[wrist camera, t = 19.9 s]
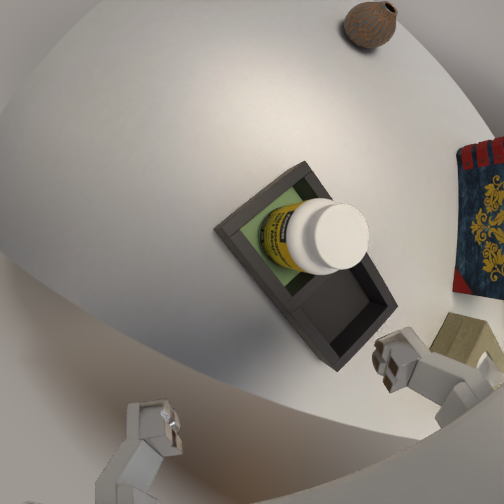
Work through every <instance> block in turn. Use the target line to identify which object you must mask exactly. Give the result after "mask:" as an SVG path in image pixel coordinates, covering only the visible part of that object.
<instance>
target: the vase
mask: <svg viewBox="0 0 504 504" xmlns="http://www.w3.org/2000/svg"><path fill="white" fill-rule="evenodd" d="M396 15H397V10H396V8H395V7H394V6H393V5H392V4H391V3H389V2H387V1H384V2H364V3H361V4H358V5H356V6H355V7H353V8H352V9H351V10H350V11H349V12H348V14H347V15H346V18H345V21H344V29H345V32H346V34H347V36H348V38H349V39H350V40H351V41H352V42H353V43H355V44H356V45H358V46H361V47H364V48H376V47H379V46H382V45H383V44H385V43H386V42H388V41H389V40H390V39H391V37H392V36H393V34H394V32H395V29H396Z"/></svg>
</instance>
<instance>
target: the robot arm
mask: <svg viewBox="0 0 504 504" xmlns="http://www.w3.org/2000/svg"><path fill="white" fill-rule="evenodd" d="M374 346H375V348H376V349H375V351H374V352H373V354H372V362H373V366H374V368H375V370H376V372H377V373H378V374H380V375H382V376H383V383H384V385H385V386H386V388H387V390H388V391H389V393H392V392H395V391H397V390H399V389H401V388H404V387H406V386H407V387H408V388H410V389H412V390H414V391H415V392H417V393H419V394H421V395H422V396H424V397H426V398H428V399H429V400H431V401H433V402H435V403H436V404H438V405H440V406H441V408H440V409H439V411H438V412H437V413H436V415H435V419H436V421H437V422H438V424H439V426H440V427H441V429H439V430H438V431H436V432H434V433H433V434H431V435H429V436H428V437H426V438H424V439H422V440H421V441H419V442H417V443H415V444H413V445H412V446H410V447H408V448H406V449H404V450H402V451H400V452H398V453H396V454H395V455H392V456H390V457H388V458H386V459H384V460H382V461H380V462H378V463H375V464H373V465H371V466H369V467H366V468H364V469H362V470H359V471H357V472H355V473H352V474H350V475H347V476H344V477H342V478H339V479H337V480H334V481H331V482H328V483H325V484H322V485H319V486H316V487H313V488H310V489H307V490H303V491H300V492H297V493H293V494H289V495H286V496H282V497H278V498H274V499H270V500H266V501H261V502H257V503H252V504H504V383H503V384H502V385H501V386H499V387H498V388H497V389H496V390H494V389H493V388H492V386H491V385H490V384H489V382H488V381H487V380H486V379H485V377H484V376H483V375H482V373H481V372H480V371H479V370H478V369H476V368H474V367H471V366H469V365H466V364H463V363H461V362H458V361H456V360H453V359H451V358H449V357H446V356H444V355H441V354H439V353H436V352H432V353H431V352H430V351H429V349H428V348H427V347H426V346H425V344H424V343H423V342H422V341H421V339H420V338H419V337H418V336H417V334H416V333H415V332H414V331H413V330H412V328H411V327H409V326H408V327H405V328H403V329H401V330H398V331H395V332H393V333H391V334H388V335H386V336H384V337H381V338H379V339H377V340H376V341H375V344H374ZM180 430H181V427H180V421H179V417H178V414H177V412H176V411H175V409H174V408H171V407H170V402H169V401H168V400H167V399H159V400H153V401H145V402H136V403H129V404H128V407H127V425H126V441H122V443H121V445H120V446H119V448H118V449H117V450H116V452H115V454H114V455H113V457H112V458H111V460H110V461H109V463H108V464H107V466H106V467H105V469H104V470H103V472H102V473H101V475H100V476H99V478H98V480H97V481H96V483H95V504H160V501H159V500H158V499H157V498H155V497H153V496H150V495H149V494H147V492H148V490H149V488H150V486H151V483H152V482H153V479H154V477H155V475H156V473H157V471H158V469H159V467H160V465H161V462H162V460H163V457H166V456H174V455H180V454H183V446H182V439H181V438H180V437H179V436H178V433H179V432H180ZM23 504H40V503H35V502H31V501H27V502H24V503H23Z"/></svg>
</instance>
